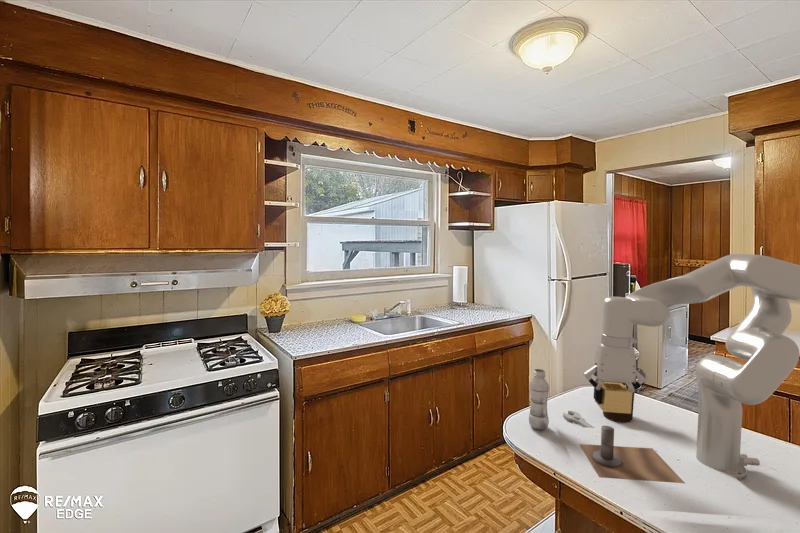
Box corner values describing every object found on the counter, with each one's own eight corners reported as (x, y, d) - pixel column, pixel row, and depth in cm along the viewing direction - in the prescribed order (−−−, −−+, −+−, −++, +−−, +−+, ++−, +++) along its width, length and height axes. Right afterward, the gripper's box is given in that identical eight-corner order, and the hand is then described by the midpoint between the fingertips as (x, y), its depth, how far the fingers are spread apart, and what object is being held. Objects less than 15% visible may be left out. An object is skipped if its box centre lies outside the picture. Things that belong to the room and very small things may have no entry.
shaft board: (652, 453, 119) (653, 417, 118) (684, 488, 102) (686, 447, 101) (578, 448, 122) (579, 414, 121) (598, 482, 105) (600, 442, 104)
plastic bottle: (536, 433, 131) (537, 375, 130) (524, 424, 138) (525, 368, 136) (552, 430, 133) (554, 373, 132) (540, 422, 140) (541, 366, 138)
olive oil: (631, 412, 146) (633, 346, 145) (637, 425, 136) (639, 354, 135) (599, 408, 150) (601, 344, 148) (603, 421, 140) (605, 351, 138)
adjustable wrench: (623, 450, 122) (623, 445, 122) (604, 452, 121) (604, 446, 121) (574, 414, 146) (574, 409, 146) (558, 415, 145) (558, 411, 145)
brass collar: (620, 403, 114) (621, 383, 114) (630, 413, 107) (632, 392, 107) (594, 401, 115) (595, 381, 115) (603, 411, 108) (605, 390, 108)
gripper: (643, 339, 113) (639, 400, 114) (579, 336, 115) (575, 395, 116) (656, 346, 105) (652, 411, 106) (588, 343, 107) (584, 406, 109)
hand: (612, 402), depth 111 cm, fingers closed on brass collar, 7 cm apart
